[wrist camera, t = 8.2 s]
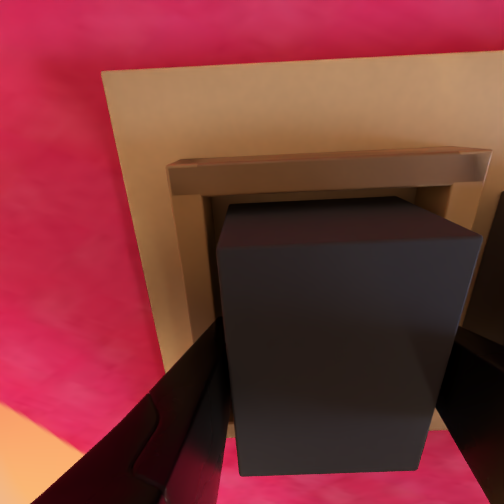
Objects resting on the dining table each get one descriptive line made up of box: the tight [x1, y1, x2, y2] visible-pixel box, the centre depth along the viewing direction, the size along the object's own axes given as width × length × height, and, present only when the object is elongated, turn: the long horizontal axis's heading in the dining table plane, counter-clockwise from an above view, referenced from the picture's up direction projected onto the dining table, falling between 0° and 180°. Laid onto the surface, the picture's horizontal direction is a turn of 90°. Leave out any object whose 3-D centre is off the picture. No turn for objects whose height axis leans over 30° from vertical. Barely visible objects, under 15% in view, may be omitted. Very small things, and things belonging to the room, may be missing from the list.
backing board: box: [101, 50, 504, 438], centre depth 9 cm, size 14×19×4 cm
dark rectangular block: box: [216, 196, 483, 477], centre depth 8 cm, size 7×5×4 cm
